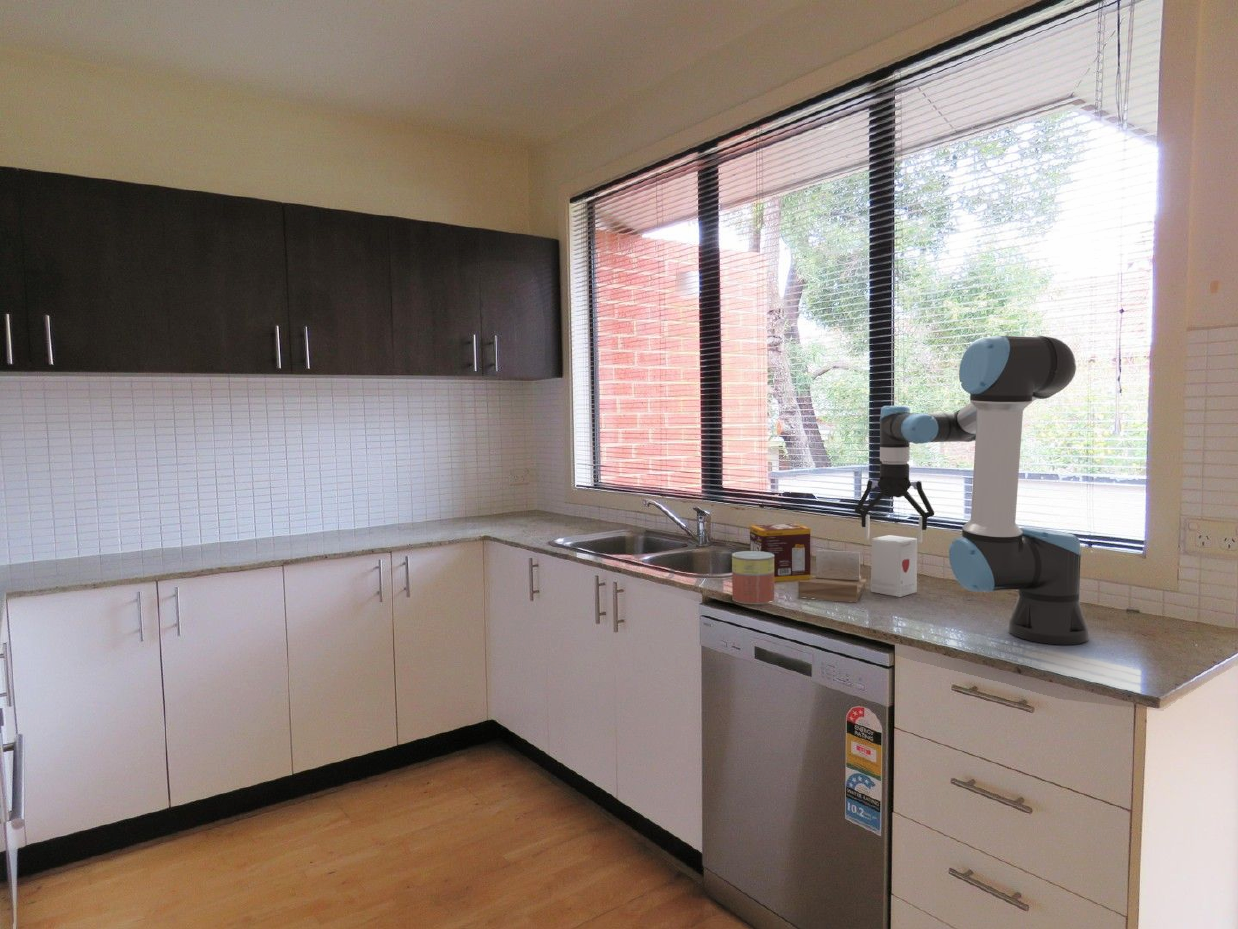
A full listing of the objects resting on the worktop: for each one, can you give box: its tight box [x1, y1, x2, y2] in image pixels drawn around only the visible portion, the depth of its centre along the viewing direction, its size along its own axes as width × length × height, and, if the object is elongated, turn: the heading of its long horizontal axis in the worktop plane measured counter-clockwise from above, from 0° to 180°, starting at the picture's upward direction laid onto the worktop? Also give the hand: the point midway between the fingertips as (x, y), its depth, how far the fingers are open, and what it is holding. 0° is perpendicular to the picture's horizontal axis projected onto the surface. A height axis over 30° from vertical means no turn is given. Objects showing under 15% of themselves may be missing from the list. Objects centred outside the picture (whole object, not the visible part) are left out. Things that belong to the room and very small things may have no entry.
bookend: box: [815, 549, 862, 581], centre depth 218 cm, size 4×12×8 cm, turn 66°
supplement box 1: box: [749, 522, 812, 583], centre depth 228 cm, size 10×15×16 cm
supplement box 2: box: [870, 534, 918, 598], centre depth 207 cm, size 9×9×15 cm
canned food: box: [731, 550, 775, 605], centre depth 203 cm, size 11×11×12 cm
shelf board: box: [797, 575, 867, 603], centre depth 210 cm, size 22×15×4 cm
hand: (893, 540), depth 207 cm, fingers open, 13 cm apart
